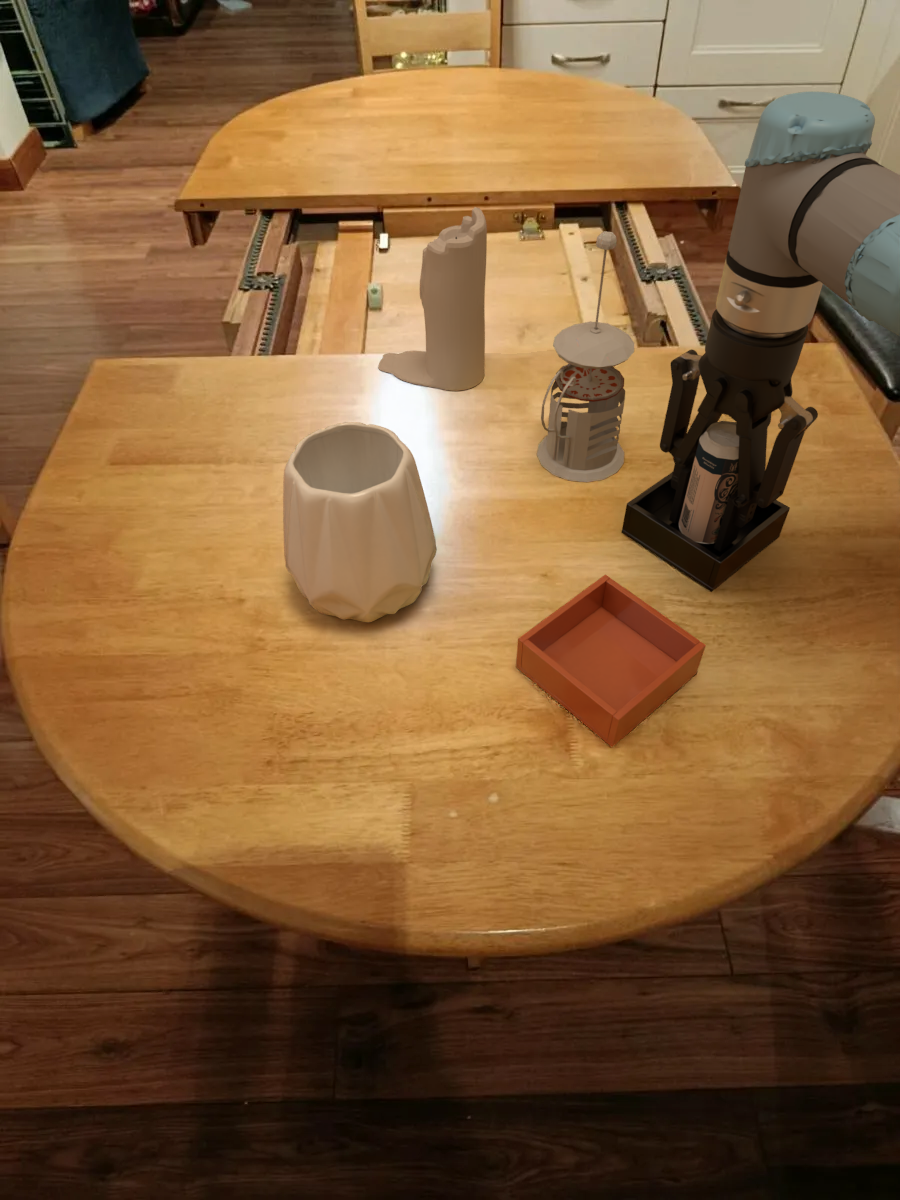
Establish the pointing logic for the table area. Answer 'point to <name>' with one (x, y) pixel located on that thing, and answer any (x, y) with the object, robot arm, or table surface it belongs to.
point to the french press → (587, 397)
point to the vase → (356, 522)
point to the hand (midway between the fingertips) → (702, 528)
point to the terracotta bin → (609, 658)
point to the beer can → (711, 482)
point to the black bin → (694, 559)
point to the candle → (450, 311)
